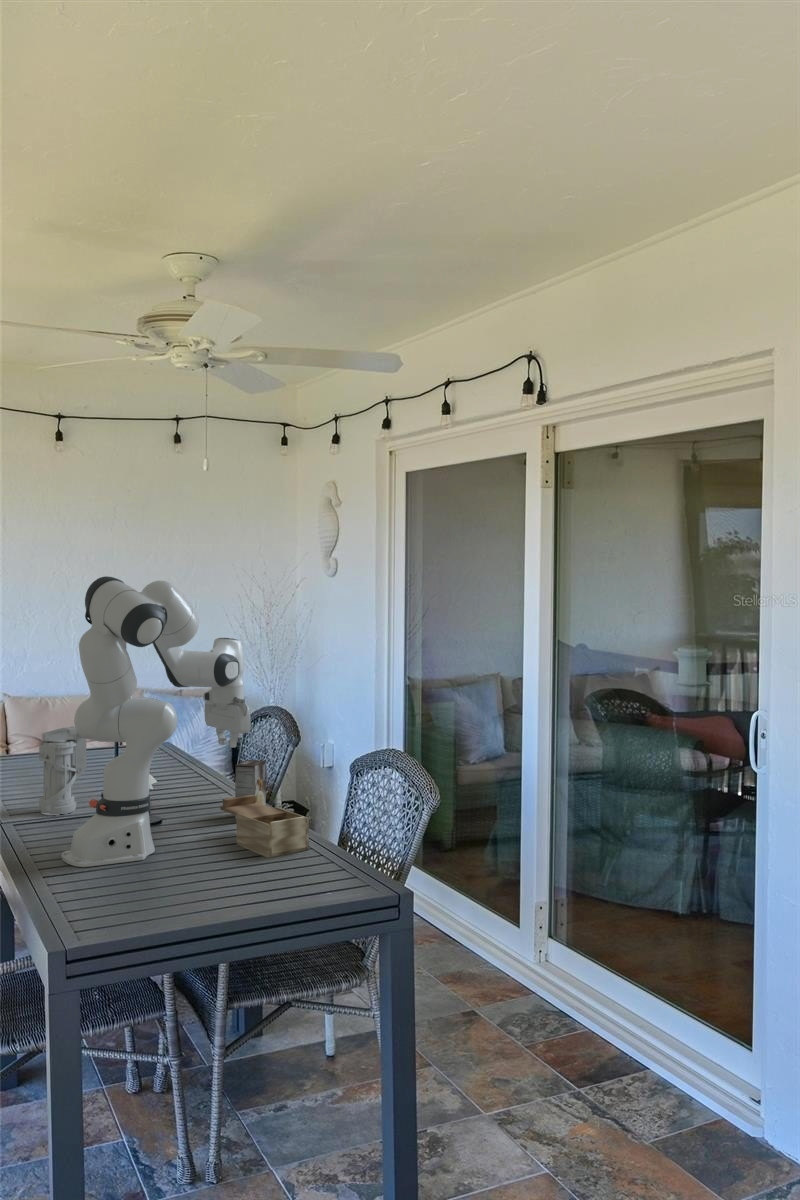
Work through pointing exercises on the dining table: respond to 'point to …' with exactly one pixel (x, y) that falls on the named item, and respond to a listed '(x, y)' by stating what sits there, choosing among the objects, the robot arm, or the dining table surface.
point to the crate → (274, 834)
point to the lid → (249, 808)
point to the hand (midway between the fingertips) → (227, 745)
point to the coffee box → (251, 780)
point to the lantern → (61, 768)
